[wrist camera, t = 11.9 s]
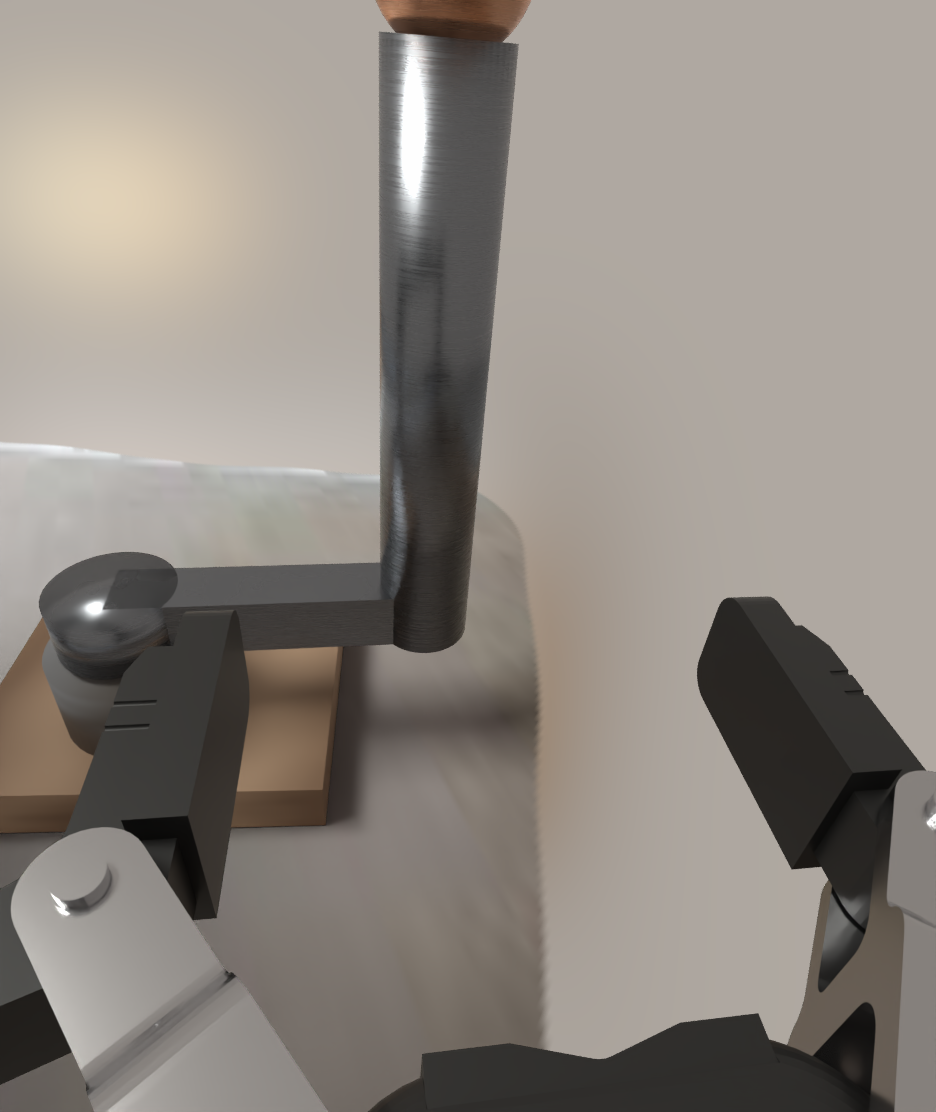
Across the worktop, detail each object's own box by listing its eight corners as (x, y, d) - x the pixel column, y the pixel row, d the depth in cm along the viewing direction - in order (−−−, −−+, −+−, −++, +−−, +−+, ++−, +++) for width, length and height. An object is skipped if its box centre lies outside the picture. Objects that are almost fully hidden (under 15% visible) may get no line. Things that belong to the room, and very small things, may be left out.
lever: (38, 683, 21) (-379, -325, 10) (78, 599, 25) (-202, -237, 13) (481, 660, 24) (579, -187, 12) (465, 586, 27) (529, -140, 15)
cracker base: (-47, 834, 23) (-110, 734, 20) (69, 627, 31) (37, 534, 28) (325, 825, 24) (317, 729, 21) (345, 628, 32) (341, 539, 29)
